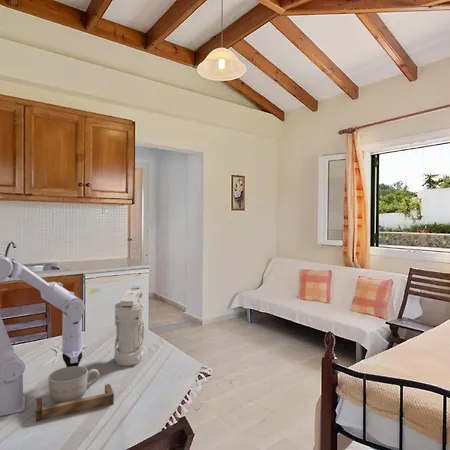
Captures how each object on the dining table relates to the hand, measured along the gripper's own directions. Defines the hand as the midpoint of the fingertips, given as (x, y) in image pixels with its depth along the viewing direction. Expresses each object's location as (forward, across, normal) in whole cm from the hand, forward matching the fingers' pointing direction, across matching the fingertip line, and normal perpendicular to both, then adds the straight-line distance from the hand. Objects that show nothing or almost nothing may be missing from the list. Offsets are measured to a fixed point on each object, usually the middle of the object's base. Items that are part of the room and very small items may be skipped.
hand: (72, 375), depth 112 cm
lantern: (+4, +13, -21) cm, 25 cm away
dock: (+3, -12, 0) cm, 13 cm away
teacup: (+4, -7, 0) cm, 8 cm away
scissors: (+4, +27, +3) cm, 27 cm away
